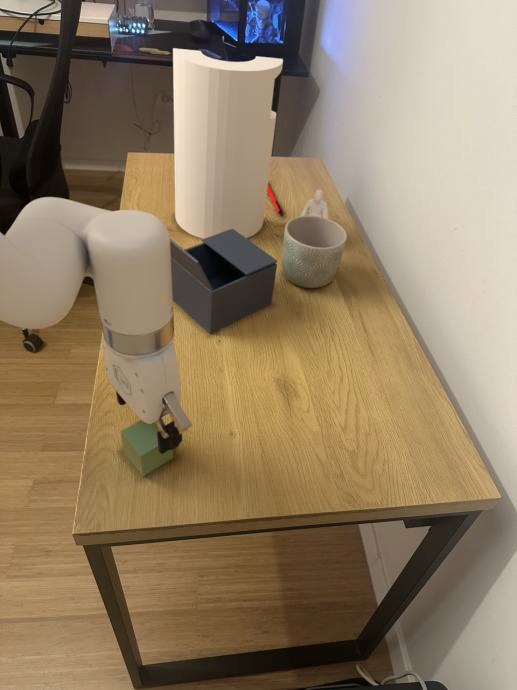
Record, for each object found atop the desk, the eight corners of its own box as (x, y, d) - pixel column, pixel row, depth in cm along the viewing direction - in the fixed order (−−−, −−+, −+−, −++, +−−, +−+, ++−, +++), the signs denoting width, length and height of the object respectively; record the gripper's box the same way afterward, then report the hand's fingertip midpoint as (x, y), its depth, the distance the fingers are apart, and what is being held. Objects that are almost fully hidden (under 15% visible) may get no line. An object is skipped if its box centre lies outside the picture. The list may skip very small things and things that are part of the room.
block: (142, 477, 68) (140, 456, 65) (123, 452, 71) (120, 431, 67) (173, 457, 71) (173, 437, 67) (153, 434, 73) (152, 413, 70)
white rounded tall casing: (175, 212, 119) (262, 218, 122) (172, 238, 111) (266, 243, 113) (173, 47, 95) (282, 57, 97) (169, 64, 87) (288, 75, 89)
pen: (279, 216, 123) (280, 212, 122) (262, 180, 136) (262, 176, 135) (283, 216, 123) (283, 212, 123) (265, 180, 136) (265, 176, 136)
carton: (210, 334, 90) (212, 289, 83) (168, 296, 96) (167, 251, 89) (271, 304, 98) (277, 260, 91) (229, 271, 104) (232, 228, 97)
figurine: (326, 237, 118) (337, 190, 110) (323, 255, 112) (334, 207, 104) (295, 231, 119) (303, 184, 110) (290, 249, 113) (299, 200, 105)
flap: (212, 288, 83) (211, 290, 83) (168, 251, 89) (166, 253, 89) (198, 261, 77) (196, 262, 77) (151, 223, 83) (150, 225, 83)
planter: (343, 293, 103) (355, 248, 95) (284, 295, 100) (293, 249, 93) (326, 258, 112) (337, 215, 104) (272, 259, 109) (279, 214, 102)
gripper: (67, 296, 56) (90, 395, 68) (153, 389, 47) (162, 484, 59) (126, 273, 60) (138, 371, 72) (215, 355, 51) (212, 451, 63)
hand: (149, 422), depth 66 cm, fingers open, 9 cm apart
